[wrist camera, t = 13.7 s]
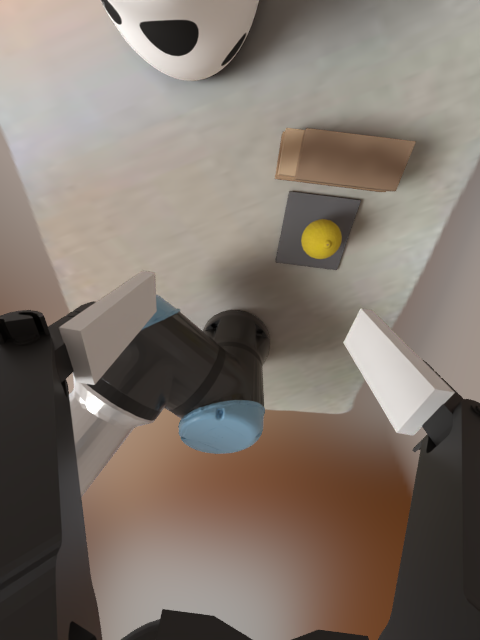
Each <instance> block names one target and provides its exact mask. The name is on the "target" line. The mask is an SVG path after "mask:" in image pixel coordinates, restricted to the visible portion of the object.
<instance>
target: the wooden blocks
mask: <svg viewBox="0 0 480 640" xmlns="http://www.w3.org/2000/svg"><path fill="white" fill-rule="evenodd" d="M415 143H416V141H408V140H400V139H391V138H383V137H375V136H367V135H359V134H351V133H342V132H334V131H326V130H318V129H310V128H306V130H300V129H292V128H286V130H285V132H283V133H282V137H281V143H280V150H279V156H278V162H277V169H276V175H275V179H280V180H288V181H296V182H304V183H312V184H320V185H328V186H336V187H345V188H353V189H361V190H369V191H377V192H386V191H396V189H397V187H398V184H399V182H400V179H401V177H402V174H403V172H404V169H405V167H406V165H407V162H408V160H409V157H410V155H411V152H412V150H413V148H414V145H415Z"/></svg>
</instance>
